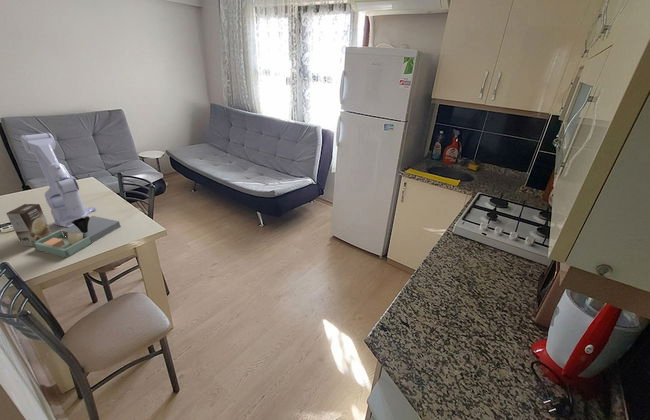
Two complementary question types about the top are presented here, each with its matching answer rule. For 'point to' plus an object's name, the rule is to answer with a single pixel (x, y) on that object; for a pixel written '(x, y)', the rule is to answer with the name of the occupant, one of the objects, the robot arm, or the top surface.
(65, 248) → the tray
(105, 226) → the board
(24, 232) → the coffee box
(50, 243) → the tile
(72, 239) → the tile
